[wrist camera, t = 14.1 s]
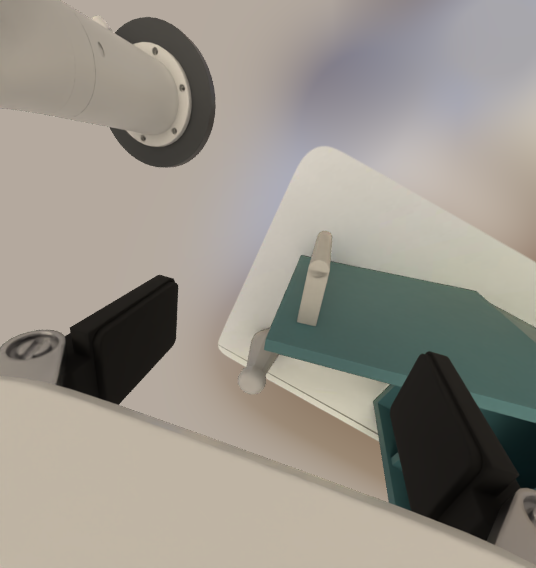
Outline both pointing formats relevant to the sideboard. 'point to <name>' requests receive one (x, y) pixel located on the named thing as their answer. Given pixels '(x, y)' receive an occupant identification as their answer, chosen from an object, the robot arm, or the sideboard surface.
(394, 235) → the sideboard surface
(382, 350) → the fridge door
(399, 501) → the box
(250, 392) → the salt shaker
